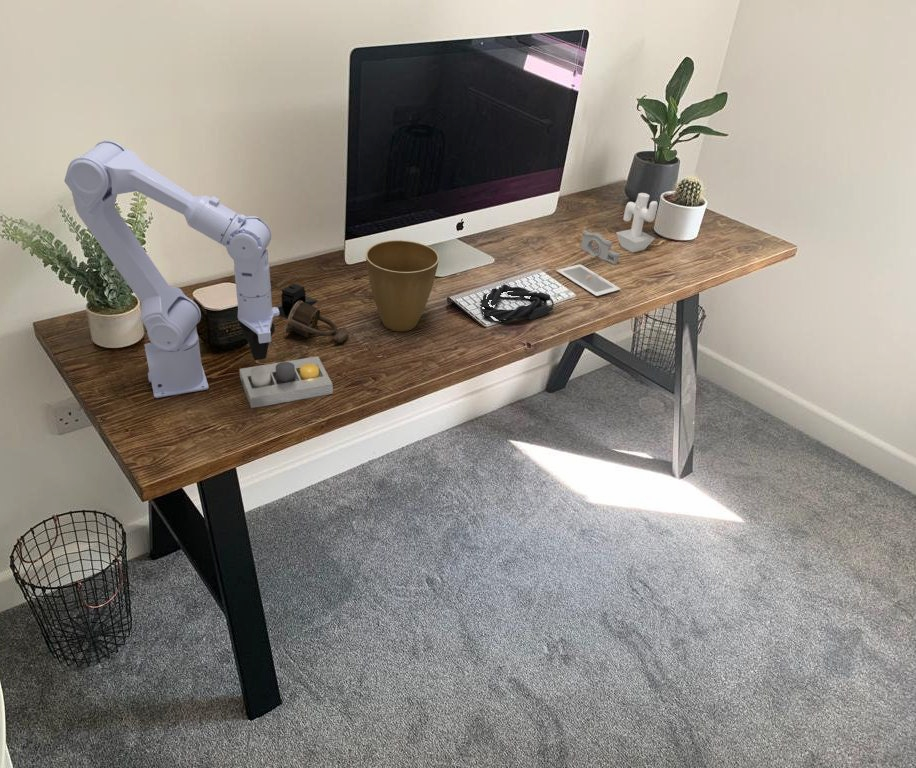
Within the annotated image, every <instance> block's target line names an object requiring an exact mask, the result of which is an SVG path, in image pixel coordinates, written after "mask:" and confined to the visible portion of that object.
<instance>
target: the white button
mask: <svg viewBox="0 0 916 768" xmlns="http://www.w3.org/2000/svg"><path fill="white" fill-rule="evenodd" d="M256 366H257V367H255V366H253V367H254V368H252V370H251V379H252V386H251V387H252V389H253V388H259V387H265V386H270V385H272V384H271V377H270V369H269V368H268V367H266V366H261V365H256Z"/></svg>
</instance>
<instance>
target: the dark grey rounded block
mask: <svg viewBox="0 0 916 768" xmlns="http://www.w3.org/2000/svg"><path fill="white" fill-rule="evenodd" d="M278 363H279V362H278ZM276 380H277V381H276V383H277V384H282V383H288V382H294V381H296V380H295V367H294V364H292V363H290V362H286V361H281V363H279V364H277V365H276Z"/></svg>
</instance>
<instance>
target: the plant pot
mask: <svg viewBox="0 0 916 768" xmlns="http://www.w3.org/2000/svg"><path fill="white" fill-rule="evenodd" d="M365 260H366V261H365V262H366V268H367V273H368V278H369V285H370V288H371V293H372V296H373V299H374V303H375V306H376V310H377V313H378V315H379V317H380V320H381V323H382V325H383V326H384V327H385V328H386V329H388V330H392V331H393V332H394V331H396V332H407V331H410V330H413V329H414V328H415V327H417V325H418V324H419V321H420V319H421V317H422V315H423V313H424V310H425V308H426V305H427V303H428V301H429V298H430V295H431V293H432V289H433V285H434V281H435V278H436V274H437V270H438V264H439V261H440V256H439V254H438V252H437V251H436V250H435V249H434V248H432V247H431V246H429V245H426V244H423V243H420V242H417V241H410V240H403V239H400V240H399V239H395V240H385V241H381V242H378V243H375V244H373V245H371V246H370V247H369V248H367V250H366V251H365Z"/></svg>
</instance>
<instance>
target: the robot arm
mask: <svg viewBox="0 0 916 768" xmlns="http://www.w3.org/2000/svg"><path fill="white" fill-rule="evenodd" d="M63 181H64V183H65V184H66V186H67V187H68V188H69V190H70V191H71V195H72V199H73V203H74V207H75V211H76V213H77V215H78V216H79V219H80V220H81V221H82V223H83V224H84V225H85V226H86V228H87V229H88V230H89V232H90V233H91V235H92V236H93V238H94V239H95V240H96V242H97V243H98V245H99V246H100V247H101V249H102V250H103V252H104V253H105V255H106V256H107V257H108V258H109V260H110V261H111V263H112V265H114V266H115V267H114V268H116V270H117V271H118V272H119V274H120V275H121V276H122V278H123V280H124V281H125V282H126V284H127V285H128V286H129V288H130V289H131V290H132V292H133V293H134V294H135V296H136V297H137V299H138V300H139V301H140V306H141V307H140V319H141V322H142V324H143V325H144V327H145V329H146V333H147V336H148V337H147V338H148V339H149V341H150V342H148V343H144V349H145V356H146V362H147V365H148V366H147V367H148V368H147V369H148V372H147V378H148V382H149V383H151V388H152V392H153V397H154V399H155V398H156V399H159V398H164V397H169V396H177V395H181V394H182V395H183V394H188V393H193V392H200V391H205V390H206V391H207V390H209V388H210V387H209V384H208V380H207V377H206V374H205V370H204V367H203V365H202V357H201V349H200V341H199V334H198V332H197V331H198V330H197V325H199V323H200V322H201V318H202V314H201V309H200V307H199V305H198V304H197V303H196V302H195V301H194V300H192V299H191V298H190V297H188V296H186V295H185V293H184V291H182V289H181V288H179V287H177V286H172V285H169V284H168V282H167V281H166V279H165V278H164V277H163V275H162V273H161V272H160V270H159V269H158V268H157V266H156V265H155V263H154V262H153V261H152V259H151V257H150V256H149V254H148V253H147V252H146V250H145V249H144V247H143V246H142V244H141V243H140V242H139V240H138V239H137V237H136V235H135V234H134V233H133V231H132V230H131V228H130V227H129V225H128V224H127V223H126V221H125V219H124V218H123V217H122V216H121V213H119V211H118V210H117V208H116V205H115V204H116V201H117V197H118V195H121V194H127V193H135V192H137V193H139V194H141V195H144V196H145V197H148V198H149V199H151V200H154V201H155V202H157V203H160V204H162V205H163V206H166V207H167V208H169V209H171V210H173V211H175V212H177V213H179V214H181V215H183V216H184V218H185V220H186V223H187V225H188V226H189V227H190V228H192V229H194V230H196V232H199V233H201V234H202V235H204V236H206V237H207V238H209V239H211V240H213V241H215V242H216V243H218V244H220V245H222V246H223V247H225V248H226V251H227V254H228V255H229V256H230V258H231V259H232V260H233V270H234V271H233V272H234V280H235V281H234V282H235V289H236V299H237V319H238V325H239V327H240V330H241V332H242V334H243V335H244V337H245V338H246V340H247V343H248V347H249V350H250V352H251V353H250V354H251V355H252V358H253V360H254V361H259V360H266V359H267V356H268V350H269V345H270V343H271V342H272V337H273V334H274V333H275V332H276V331H275V330H276V327H275V324H274V323H273V321H274V318H275V317H279V316H278V315H279V314H280V313H279V309H278V308H277V307H275V306H274V307H273V304H272V303H273V302H272V301H273V300H272V287H271V271H270V263H269V251H268V249H267V248H268V246H269V244H270V242H271V240H272V231H271V229H270V227H269V225H268V224H267V223H266V222H265V221H263V220H262V219H261V218H260V217H258V216H255V215H254V216H253V215H249V216H246V215H245V214H242V213H237V212H236V211H234V210H232V209H231V208H229V207H227V206H226V205H224V204H222V203H221V202H220V201H221V200H220V199H219V198H217V197H216V196H215V195H213V196H211V197H210V196H208V195H206V194H204V195H196V196H194V195H193V194H192V193H190V192H189V191H187V190H186V189H183V188H182V187H181V186H179V185H178V184H176V183H175V182H173V181H172V180H170V179H169V178H167V177H166V176H164V175H163V174H161V173H160V172H158V171H157V170H155V169H153V168H152V167H150V166H149V165H148V164H146V163H145V162H144V161H143V160H142V159H141V158H140V157H139V156H138V155H137V153H136V152H135V151H133V150H130V149H127V148H125V147H124V146H123V145H122V144H120V143H119V142H117V141H114V140H110V139H107V140H102V141H100V142H98V143H96V145H94V146H93V147H92V148H91V149H89V150H88V151H86V152H85V153H83V154H82V155H79V157H75V158H73V159H72V160H71V161H70V163H69V164H68V166H67V170H66V173H65V177H64V180H63Z"/></svg>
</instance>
